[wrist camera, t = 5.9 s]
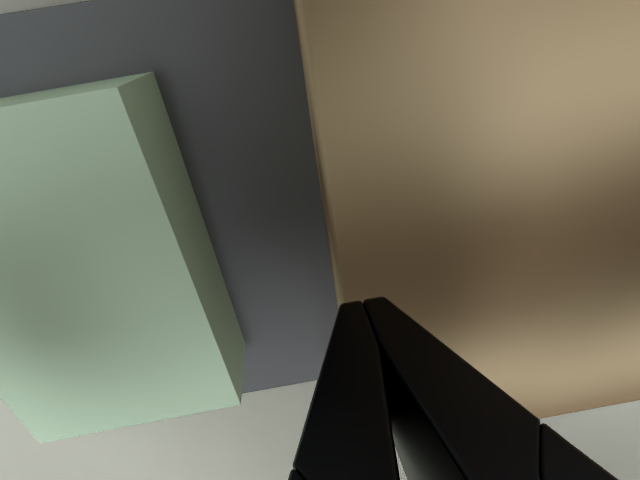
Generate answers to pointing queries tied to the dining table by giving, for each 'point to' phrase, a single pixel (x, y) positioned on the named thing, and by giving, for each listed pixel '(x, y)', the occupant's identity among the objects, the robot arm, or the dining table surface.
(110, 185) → the sage green tile
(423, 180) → the deck
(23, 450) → the dining table surface
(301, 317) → the mat
